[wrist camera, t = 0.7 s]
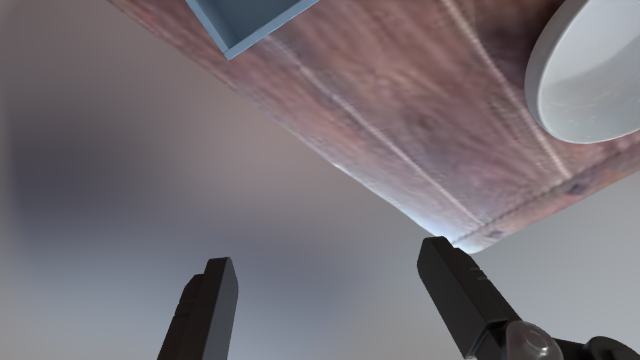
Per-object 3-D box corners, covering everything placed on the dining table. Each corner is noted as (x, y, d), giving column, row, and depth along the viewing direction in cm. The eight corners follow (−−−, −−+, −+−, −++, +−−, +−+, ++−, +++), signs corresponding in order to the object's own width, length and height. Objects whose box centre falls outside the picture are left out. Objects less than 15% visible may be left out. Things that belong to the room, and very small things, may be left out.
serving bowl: (543, 146, 40) (580, 171, 34) (468, 60, 32) (501, 75, 26) (720, 22, 30) (812, 30, 25) (678, -147, 22) (800, -192, 16)
